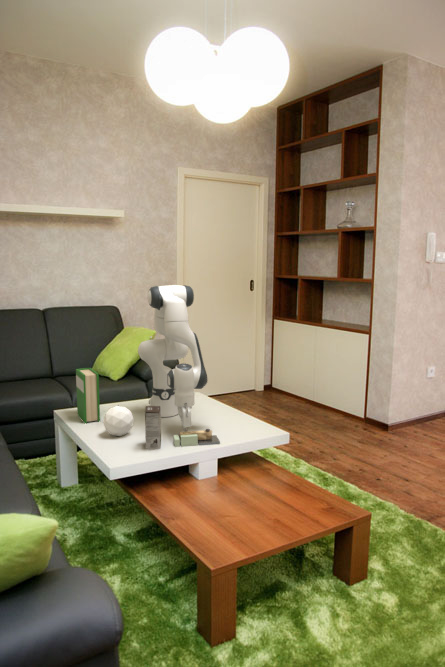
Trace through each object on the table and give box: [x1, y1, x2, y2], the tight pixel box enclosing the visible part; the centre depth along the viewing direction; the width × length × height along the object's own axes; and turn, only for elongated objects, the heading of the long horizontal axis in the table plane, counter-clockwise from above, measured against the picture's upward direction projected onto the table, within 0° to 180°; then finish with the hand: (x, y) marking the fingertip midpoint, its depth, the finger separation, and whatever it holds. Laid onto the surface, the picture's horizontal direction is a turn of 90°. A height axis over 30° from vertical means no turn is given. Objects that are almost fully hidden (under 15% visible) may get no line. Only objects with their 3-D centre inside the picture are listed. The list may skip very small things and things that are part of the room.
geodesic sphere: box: [102, 404, 135, 437], centre depth 238 cm, size 14×14×14 cm
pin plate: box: [198, 434, 221, 446], centre depth 229 cm, size 9×9×1 cm
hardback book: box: [75, 367, 101, 424], centre depth 264 cm, size 18×7×24 cm, turn 27°
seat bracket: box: [172, 434, 199, 448], centre depth 226 cm, size 6×10×4 cm, turn 101°
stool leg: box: [179, 428, 213, 442], centre depth 228 cm, size 14×4×4 cm, turn 102°
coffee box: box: [144, 405, 162, 450], centre depth 223 cm, size 9×6×16 cm
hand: (184, 431), depth 235 cm, fingers closed
